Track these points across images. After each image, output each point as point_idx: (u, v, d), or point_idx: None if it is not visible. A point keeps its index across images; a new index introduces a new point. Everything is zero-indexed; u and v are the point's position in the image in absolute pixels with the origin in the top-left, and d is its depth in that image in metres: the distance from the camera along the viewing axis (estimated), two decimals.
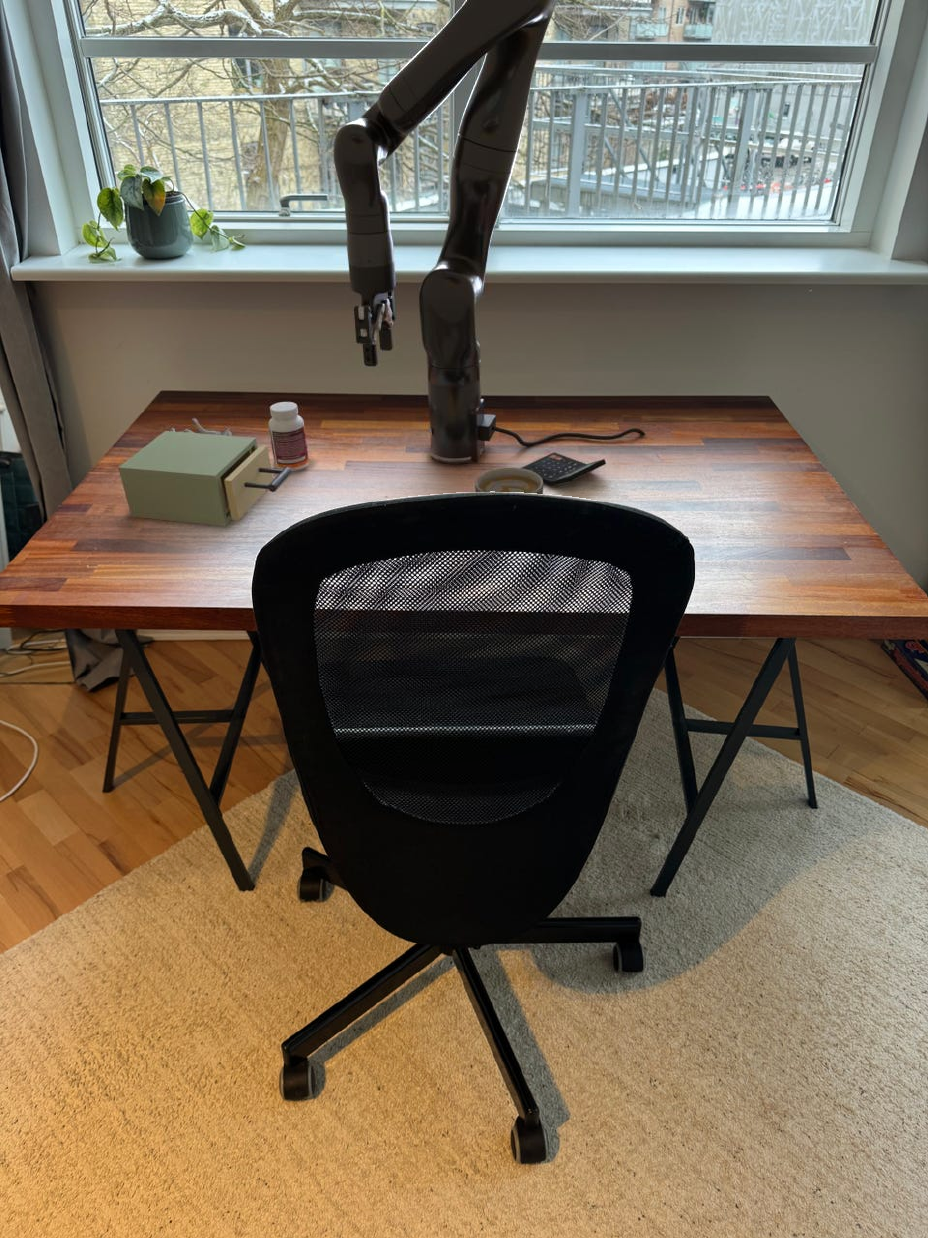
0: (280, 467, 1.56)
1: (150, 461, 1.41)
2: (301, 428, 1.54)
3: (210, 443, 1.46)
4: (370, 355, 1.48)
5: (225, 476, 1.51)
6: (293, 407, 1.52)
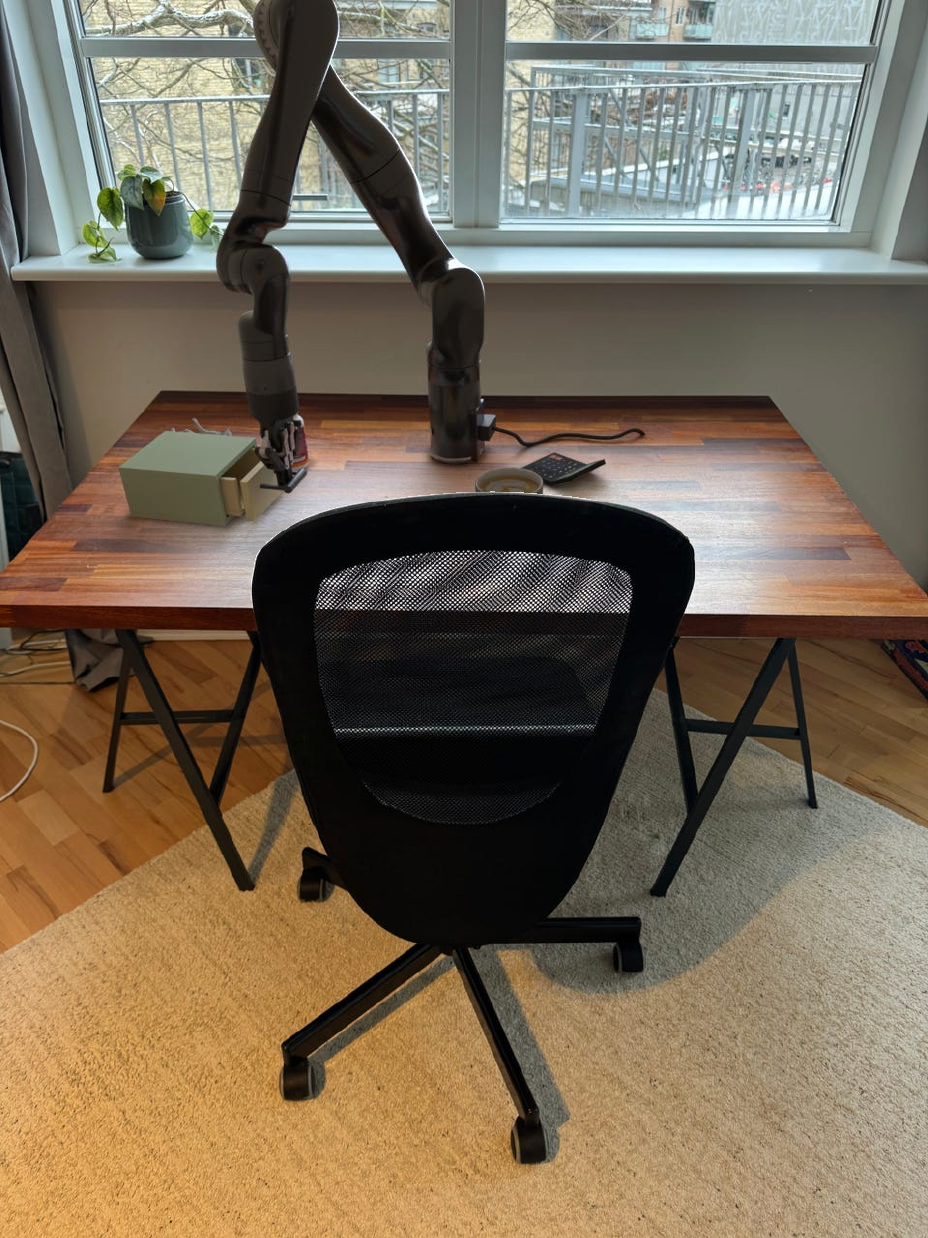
0: None
1: (150, 461, 1.41)
2: (301, 428, 1.54)
3: (210, 443, 1.46)
4: (283, 480, 1.41)
5: (239, 478, 1.50)
6: None
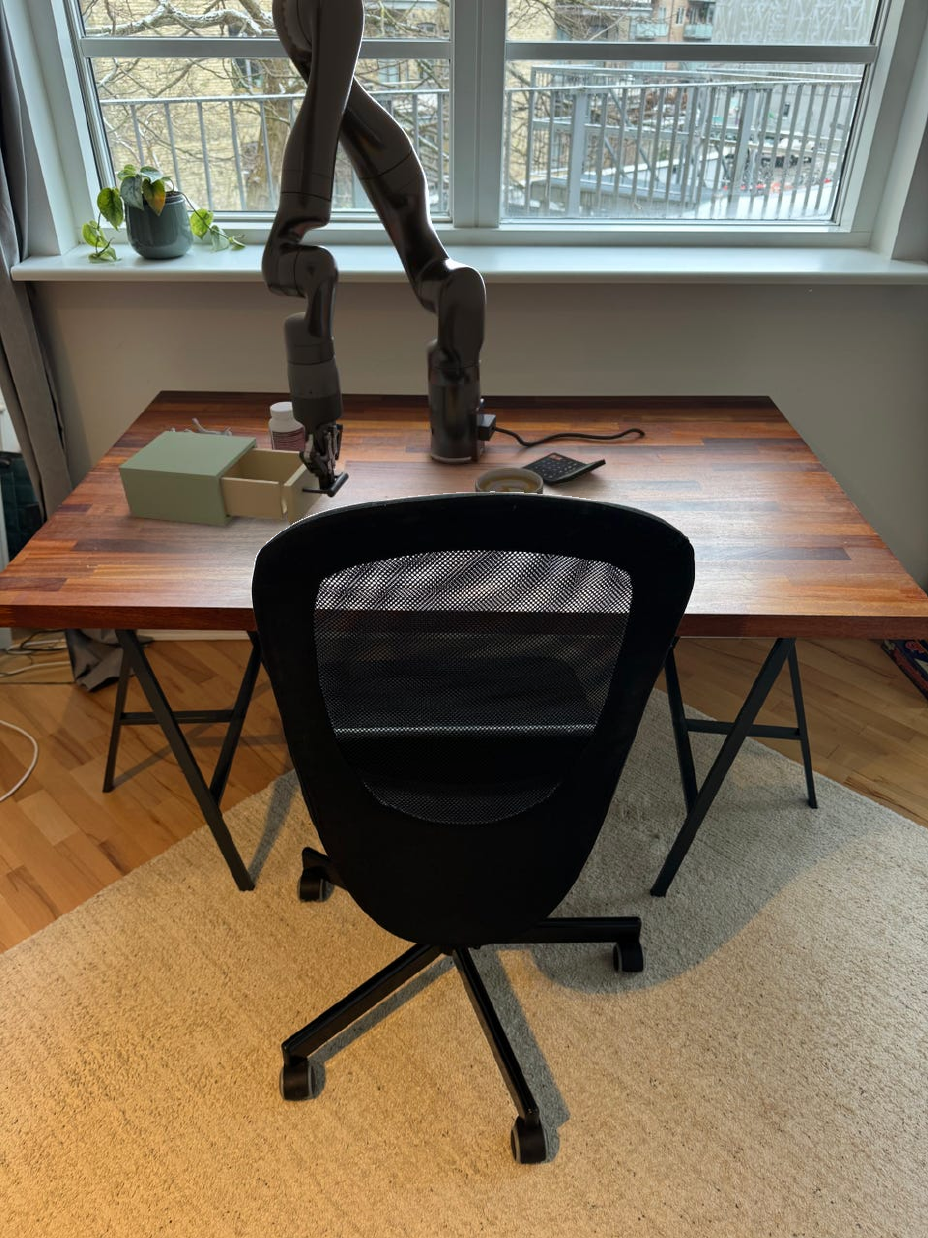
0: None
1: (150, 461, 1.41)
2: (301, 428, 1.54)
3: (210, 443, 1.46)
4: (325, 484, 1.39)
5: (278, 481, 1.49)
6: None
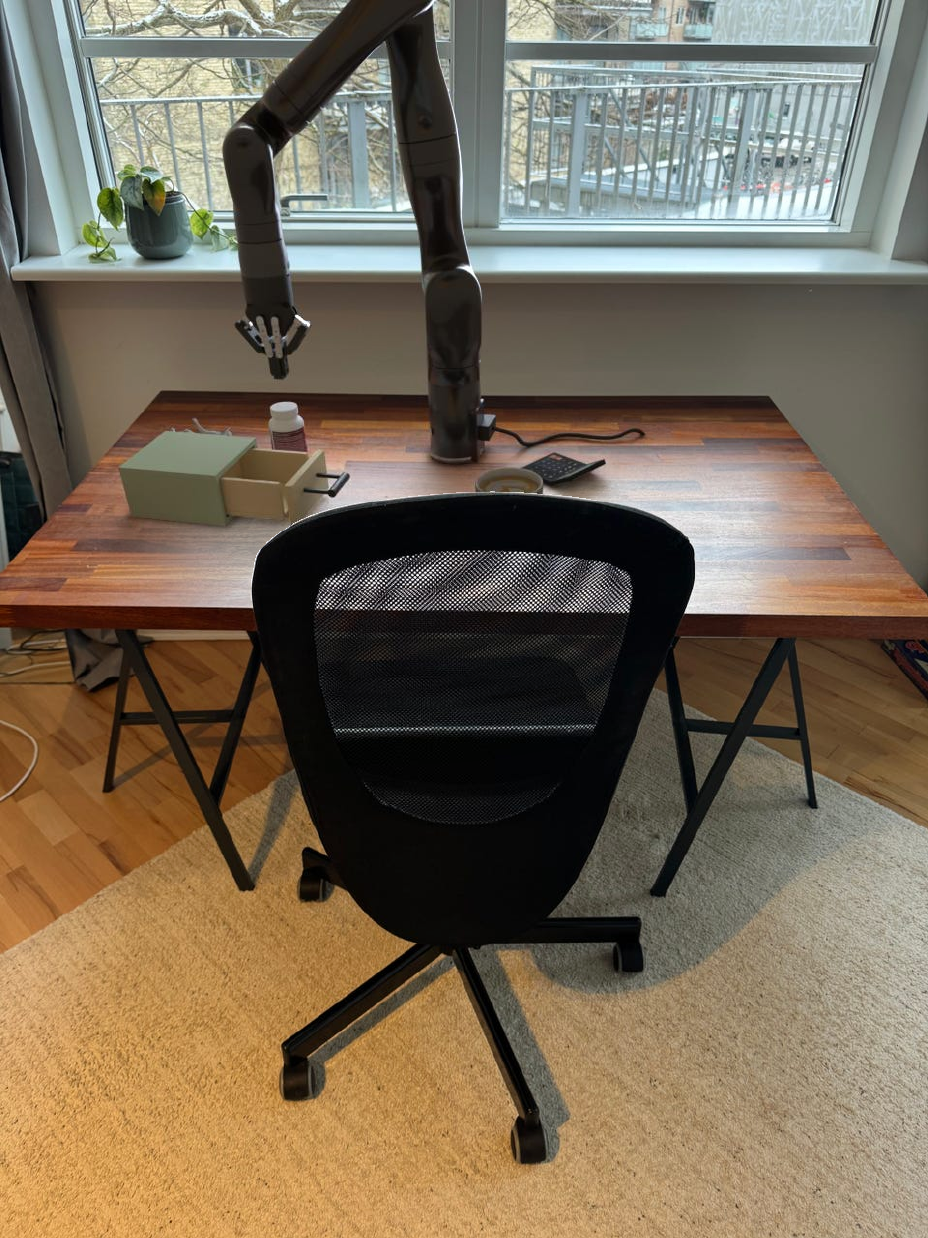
0: None
1: (150, 461, 1.41)
2: (301, 428, 1.54)
3: (210, 443, 1.46)
4: (270, 366, 1.47)
5: (279, 481, 1.49)
6: (293, 407, 1.52)
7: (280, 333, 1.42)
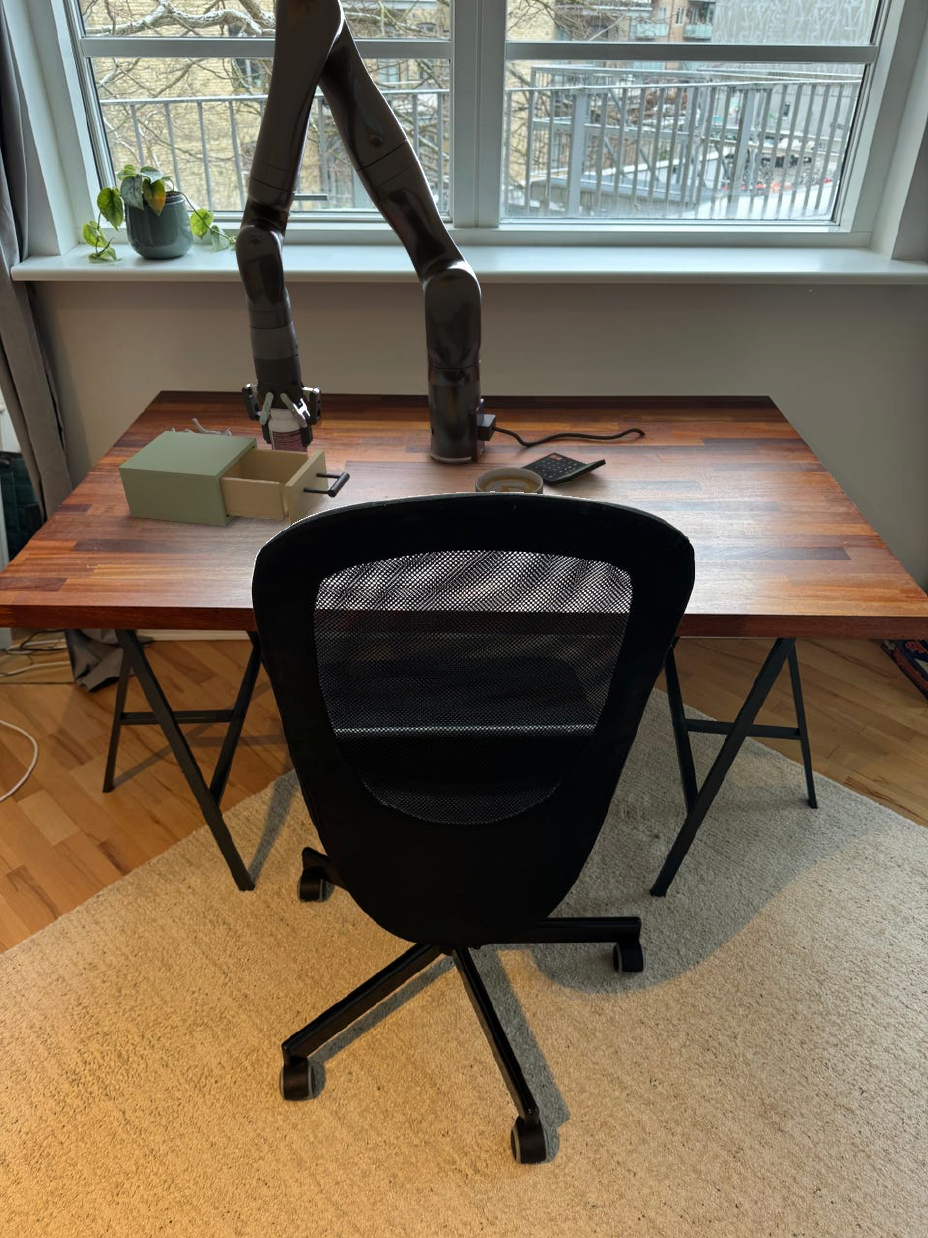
0: None
1: (150, 461, 1.41)
2: None
3: (210, 443, 1.46)
4: (263, 431, 1.56)
5: (279, 481, 1.49)
6: None
7: (294, 405, 1.51)
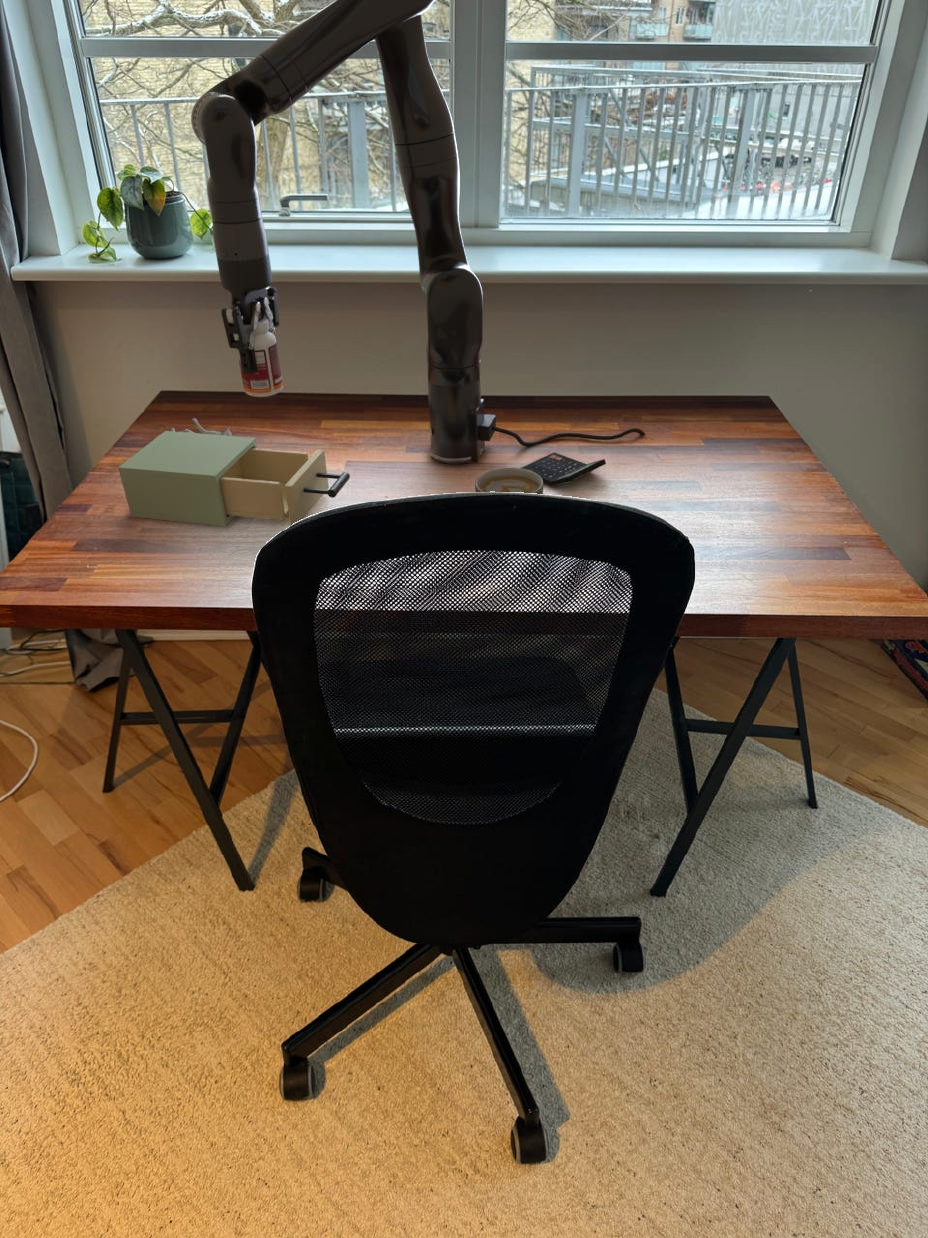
0: (278, 388, 1.39)
1: (150, 461, 1.41)
2: None
3: (210, 443, 1.46)
4: (247, 361, 1.34)
5: (279, 481, 1.49)
6: None
7: None
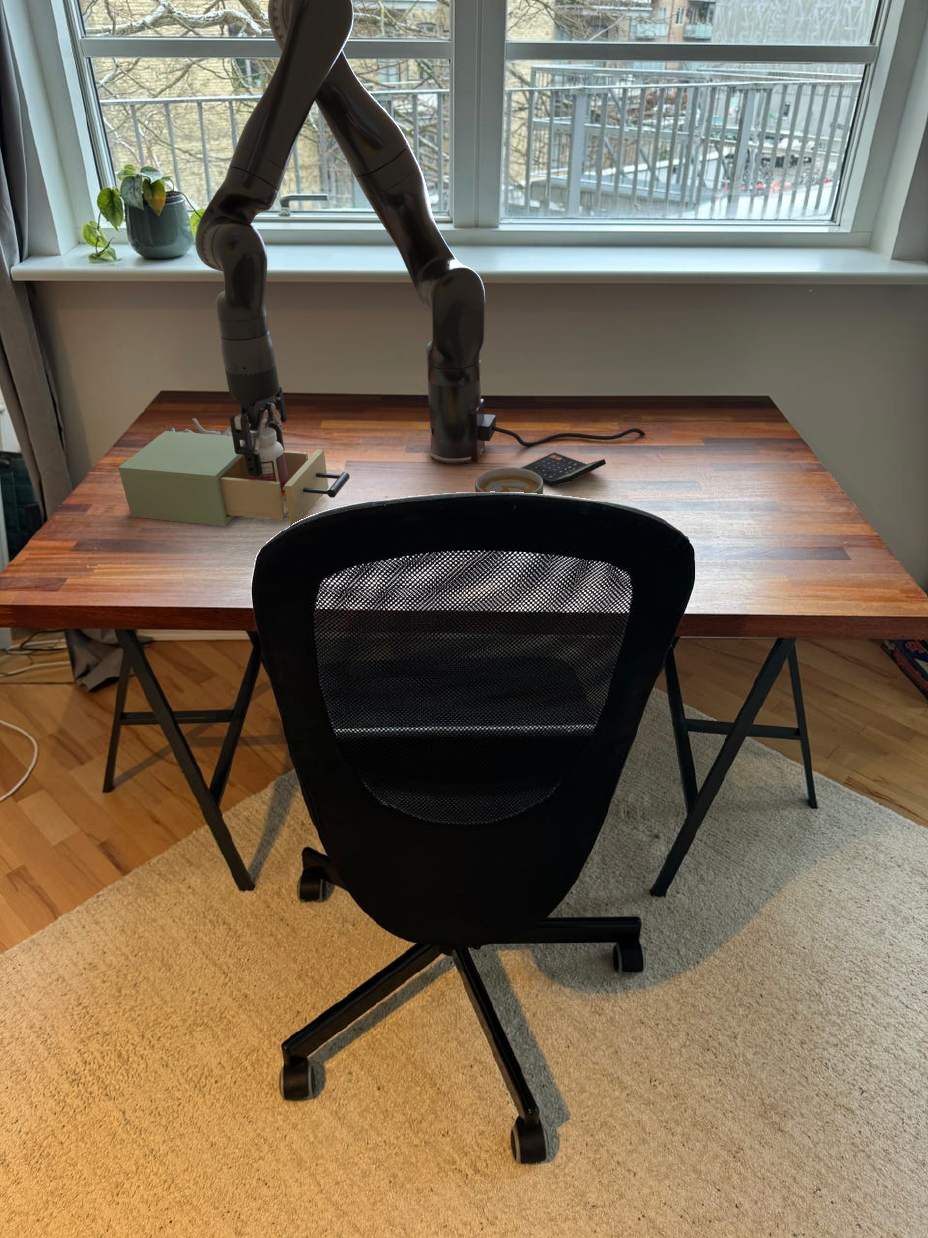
0: (285, 495, 1.43)
1: (150, 461, 1.41)
2: None
3: (210, 443, 1.46)
4: (253, 465, 1.36)
5: None
6: (266, 428, 1.40)
7: None
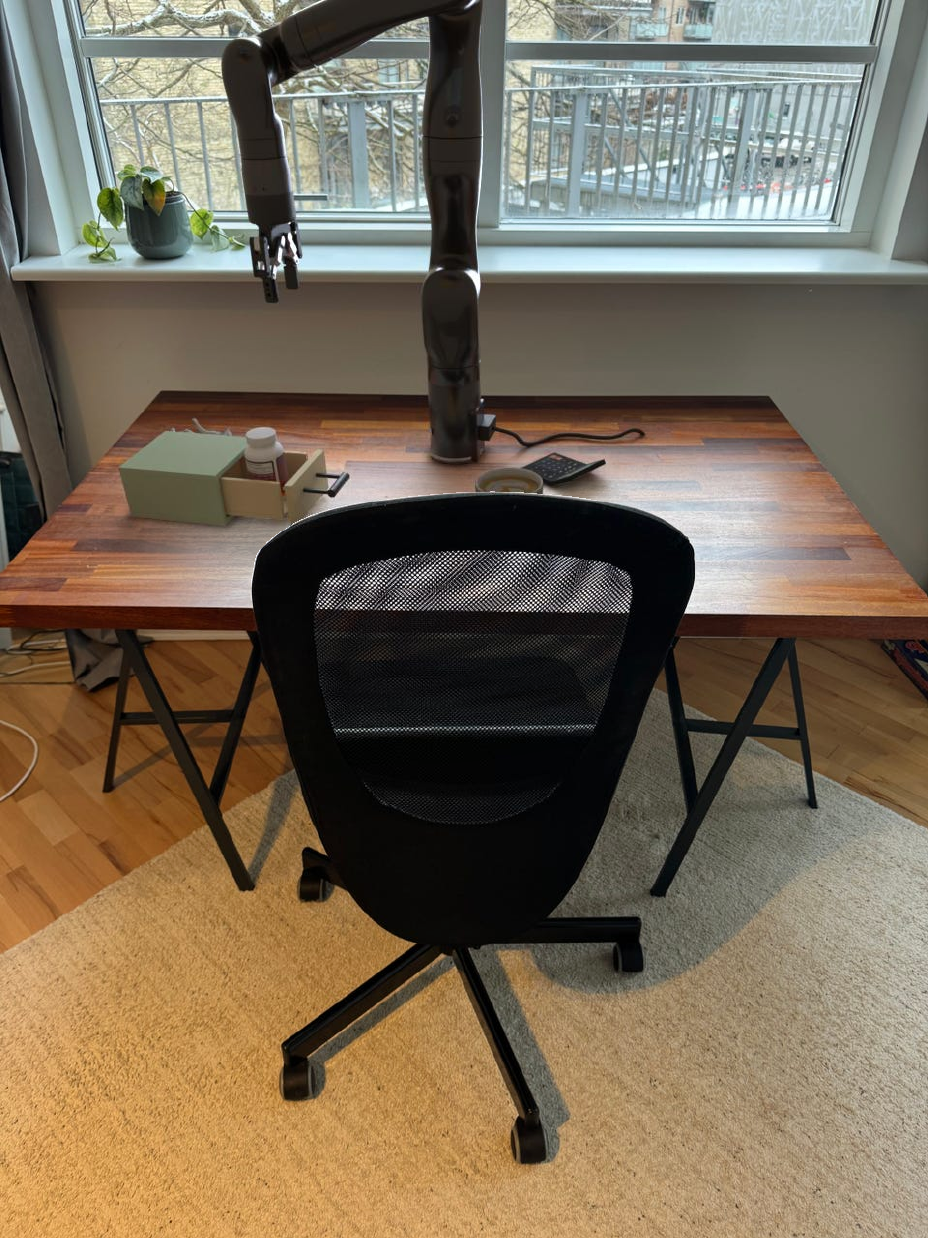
0: (285, 495, 1.43)
1: (150, 461, 1.41)
2: None
3: (210, 443, 1.46)
4: (270, 290, 1.42)
5: None
6: (266, 428, 1.40)
7: None
